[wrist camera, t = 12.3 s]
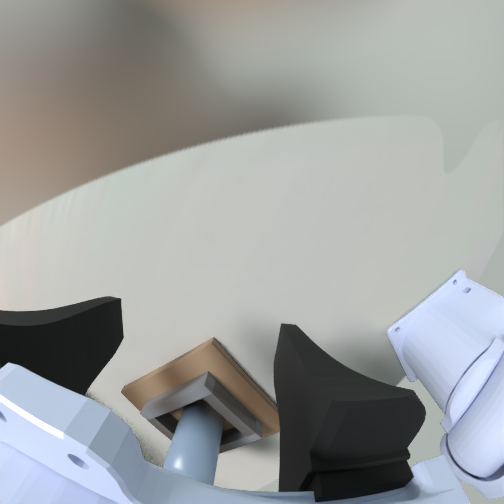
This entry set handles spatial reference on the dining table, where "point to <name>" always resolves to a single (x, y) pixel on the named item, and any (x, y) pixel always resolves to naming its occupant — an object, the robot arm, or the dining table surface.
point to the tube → (196, 442)
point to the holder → (205, 395)
